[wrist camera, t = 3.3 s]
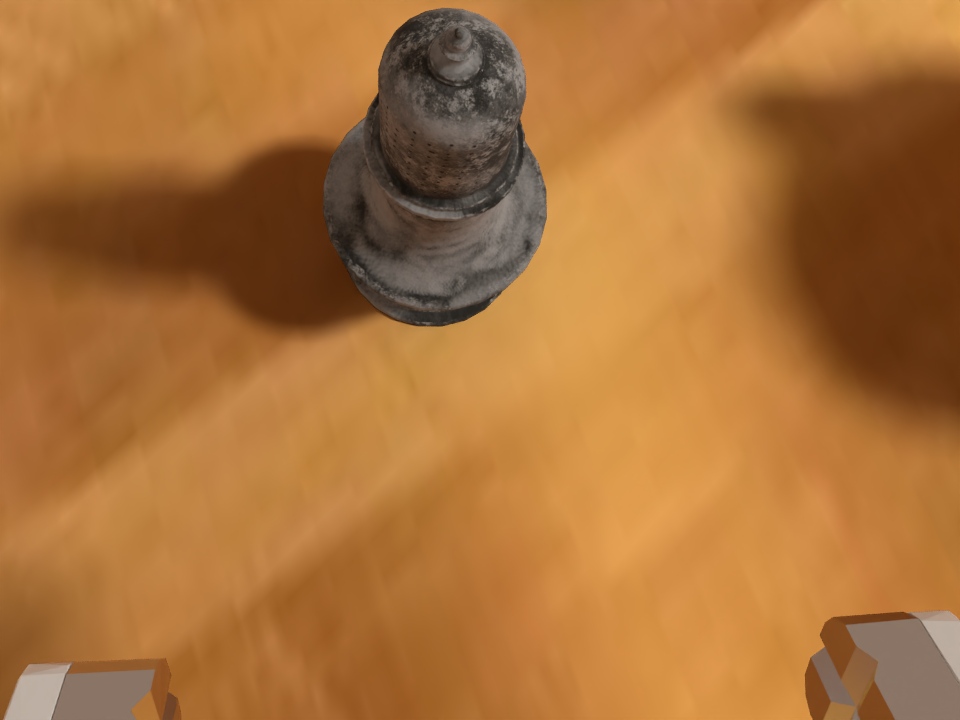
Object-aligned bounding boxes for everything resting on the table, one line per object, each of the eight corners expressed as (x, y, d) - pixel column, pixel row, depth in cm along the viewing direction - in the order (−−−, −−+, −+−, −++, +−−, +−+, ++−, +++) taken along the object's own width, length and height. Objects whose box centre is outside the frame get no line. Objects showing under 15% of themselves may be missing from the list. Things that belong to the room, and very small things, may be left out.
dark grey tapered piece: (411, 376, 26) (426, 267, 14) (291, 219, 27) (211, -12, 15) (566, 260, 27) (699, 70, 15) (448, 112, 28) (490, -185, 16)
